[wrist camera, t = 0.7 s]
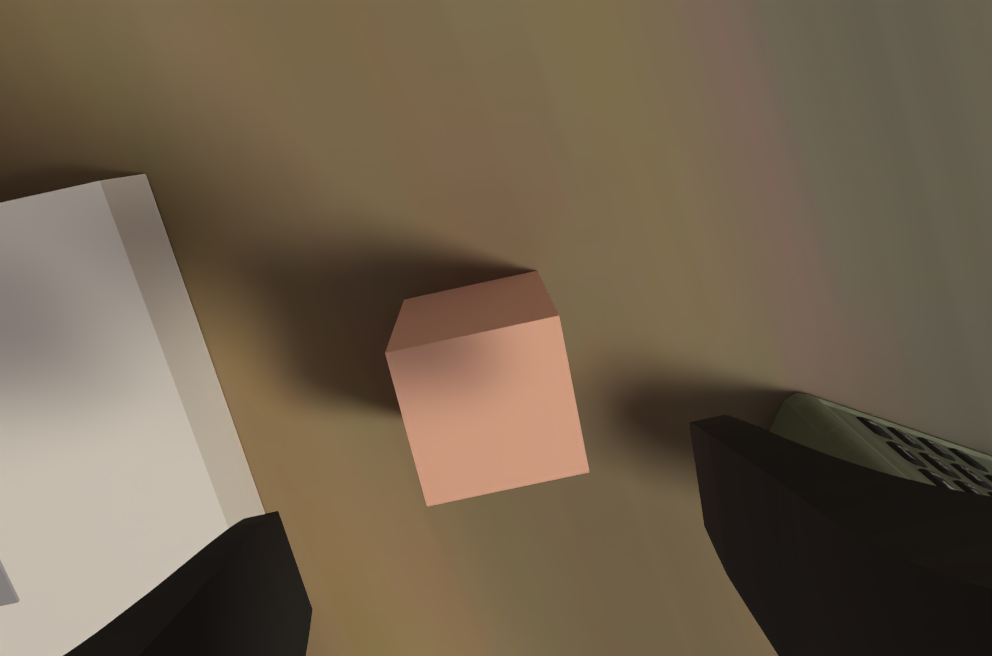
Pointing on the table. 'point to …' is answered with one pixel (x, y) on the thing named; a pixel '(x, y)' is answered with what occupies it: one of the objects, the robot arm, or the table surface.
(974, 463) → the handheld radio
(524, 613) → the table surface
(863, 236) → the table surface
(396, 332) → the plug block
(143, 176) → the outlet block
